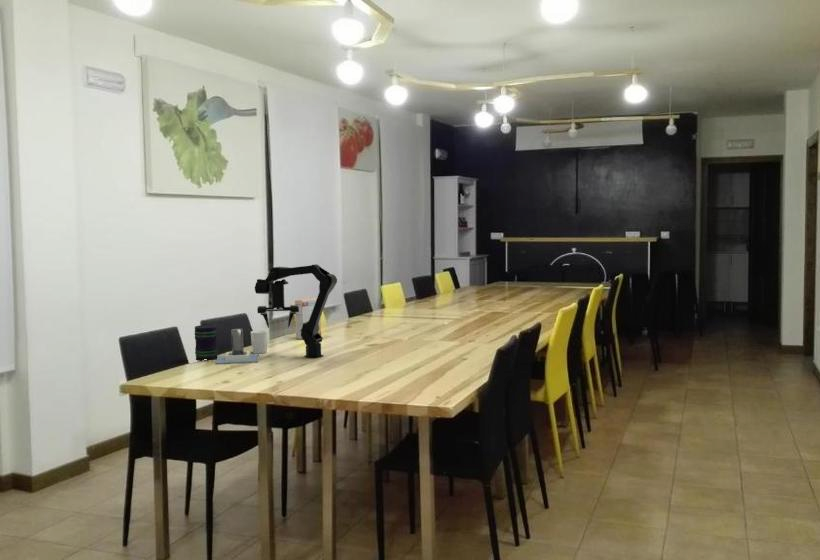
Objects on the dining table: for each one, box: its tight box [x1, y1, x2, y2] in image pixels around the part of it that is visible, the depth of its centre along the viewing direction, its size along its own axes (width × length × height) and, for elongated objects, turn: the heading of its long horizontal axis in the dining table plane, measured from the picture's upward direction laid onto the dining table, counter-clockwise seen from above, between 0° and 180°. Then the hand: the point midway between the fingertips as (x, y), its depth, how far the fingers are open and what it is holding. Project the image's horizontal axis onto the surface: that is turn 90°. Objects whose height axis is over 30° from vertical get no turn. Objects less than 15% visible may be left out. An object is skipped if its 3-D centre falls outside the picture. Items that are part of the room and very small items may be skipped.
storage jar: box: [194, 324, 219, 362], centre depth 334 cm, size 10×10×15 cm
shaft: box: [230, 328, 245, 355], centre depth 331 cm, size 5×5×13 cm
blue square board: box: [215, 350, 260, 365], centre depth 332 cm, size 18×18×3 cm
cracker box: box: [294, 297, 322, 341], centre depth 394 cm, size 14×6×21 cm, turn 144°
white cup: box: [250, 330, 268, 354], centre depth 350 cm, size 8×8×10 cm
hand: (278, 327), depth 341 cm, fingers open, 9 cm apart
